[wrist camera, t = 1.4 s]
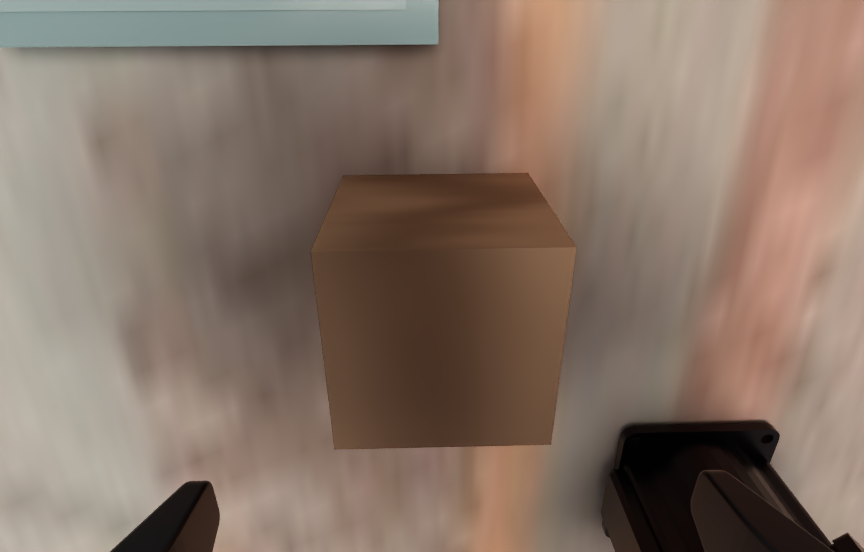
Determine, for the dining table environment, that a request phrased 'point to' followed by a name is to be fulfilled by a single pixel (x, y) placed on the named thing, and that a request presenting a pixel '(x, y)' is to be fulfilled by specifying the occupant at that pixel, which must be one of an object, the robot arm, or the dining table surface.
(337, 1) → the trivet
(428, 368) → the walnut cube
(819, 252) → the dining table surface
